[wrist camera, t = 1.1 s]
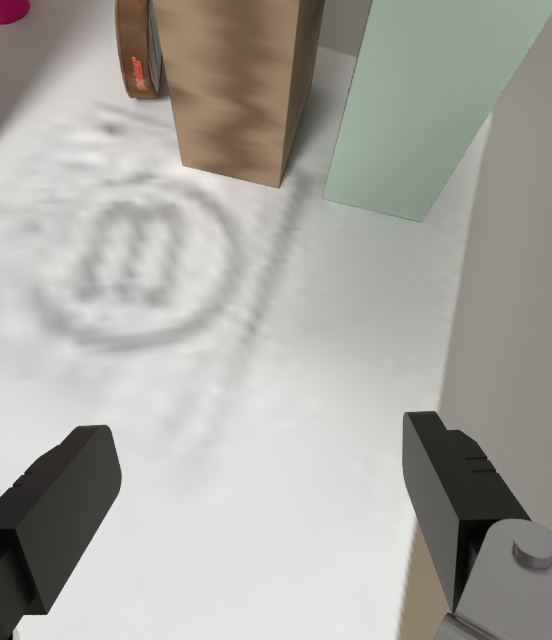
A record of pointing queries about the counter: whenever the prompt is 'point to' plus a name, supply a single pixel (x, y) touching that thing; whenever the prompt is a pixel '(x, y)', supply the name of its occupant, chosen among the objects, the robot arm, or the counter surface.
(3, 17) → the pepper mill
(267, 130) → the walnut post
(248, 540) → the counter surface
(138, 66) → the tin
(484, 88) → the sage green box
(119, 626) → the counter surface
